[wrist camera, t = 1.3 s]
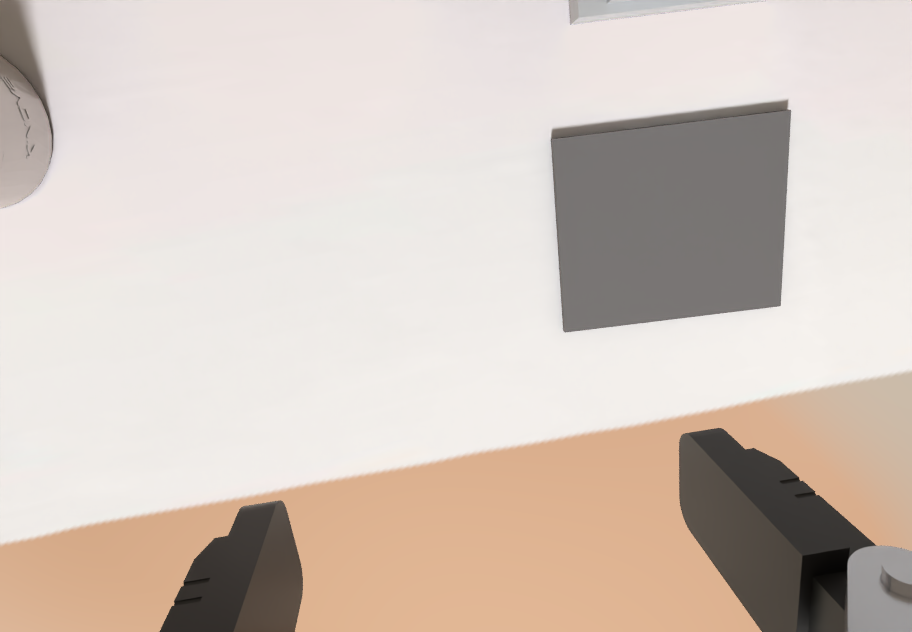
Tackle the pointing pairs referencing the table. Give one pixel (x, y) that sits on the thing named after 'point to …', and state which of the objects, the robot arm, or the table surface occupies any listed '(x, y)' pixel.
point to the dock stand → (636, 8)
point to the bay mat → (671, 220)
